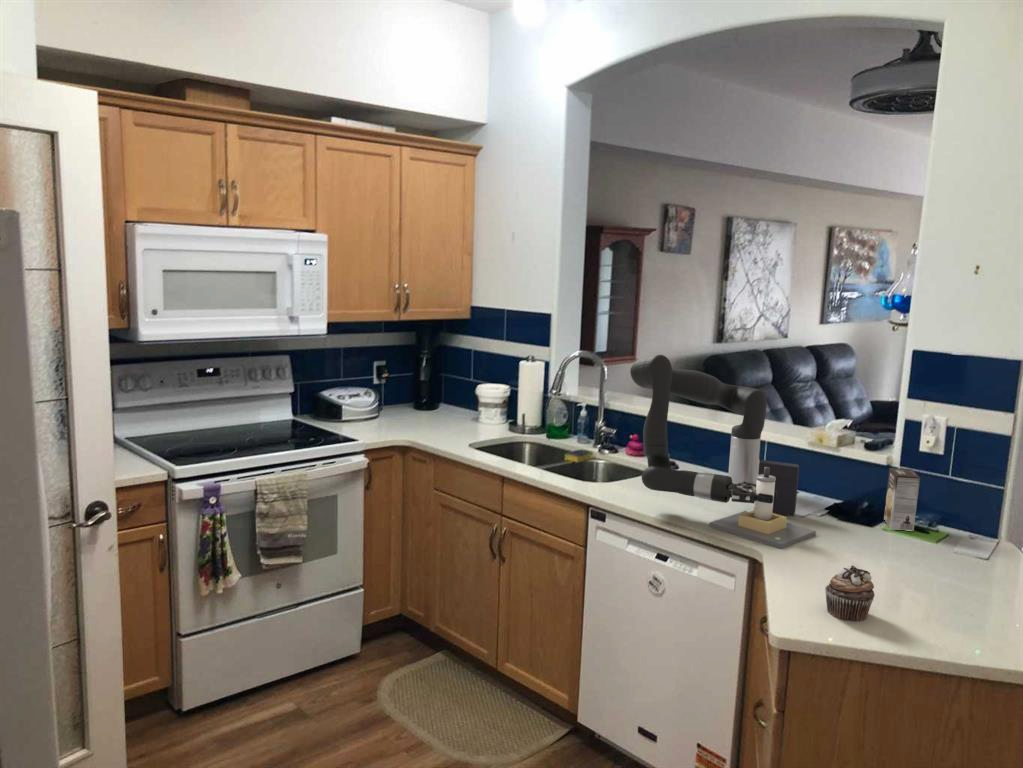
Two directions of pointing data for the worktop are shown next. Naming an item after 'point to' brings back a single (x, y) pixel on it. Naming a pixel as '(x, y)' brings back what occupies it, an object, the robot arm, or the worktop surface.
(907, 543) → the worktop surface
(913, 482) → the coffee box
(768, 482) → the white cylindrical bottle
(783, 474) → the dark grey upright panel
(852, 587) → the cupcake
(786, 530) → the socket dock
